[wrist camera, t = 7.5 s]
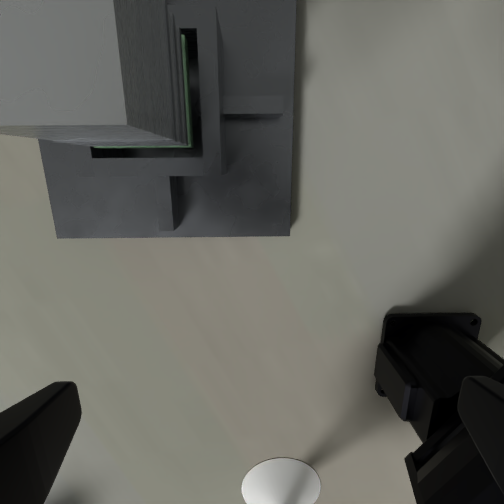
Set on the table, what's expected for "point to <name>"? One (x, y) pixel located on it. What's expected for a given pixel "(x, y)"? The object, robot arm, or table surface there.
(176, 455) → the table surface
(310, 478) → the champagne flute
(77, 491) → the table surface
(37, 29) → the block
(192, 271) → the table surface
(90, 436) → the table surface
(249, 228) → the jack base
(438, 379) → the robot arm
